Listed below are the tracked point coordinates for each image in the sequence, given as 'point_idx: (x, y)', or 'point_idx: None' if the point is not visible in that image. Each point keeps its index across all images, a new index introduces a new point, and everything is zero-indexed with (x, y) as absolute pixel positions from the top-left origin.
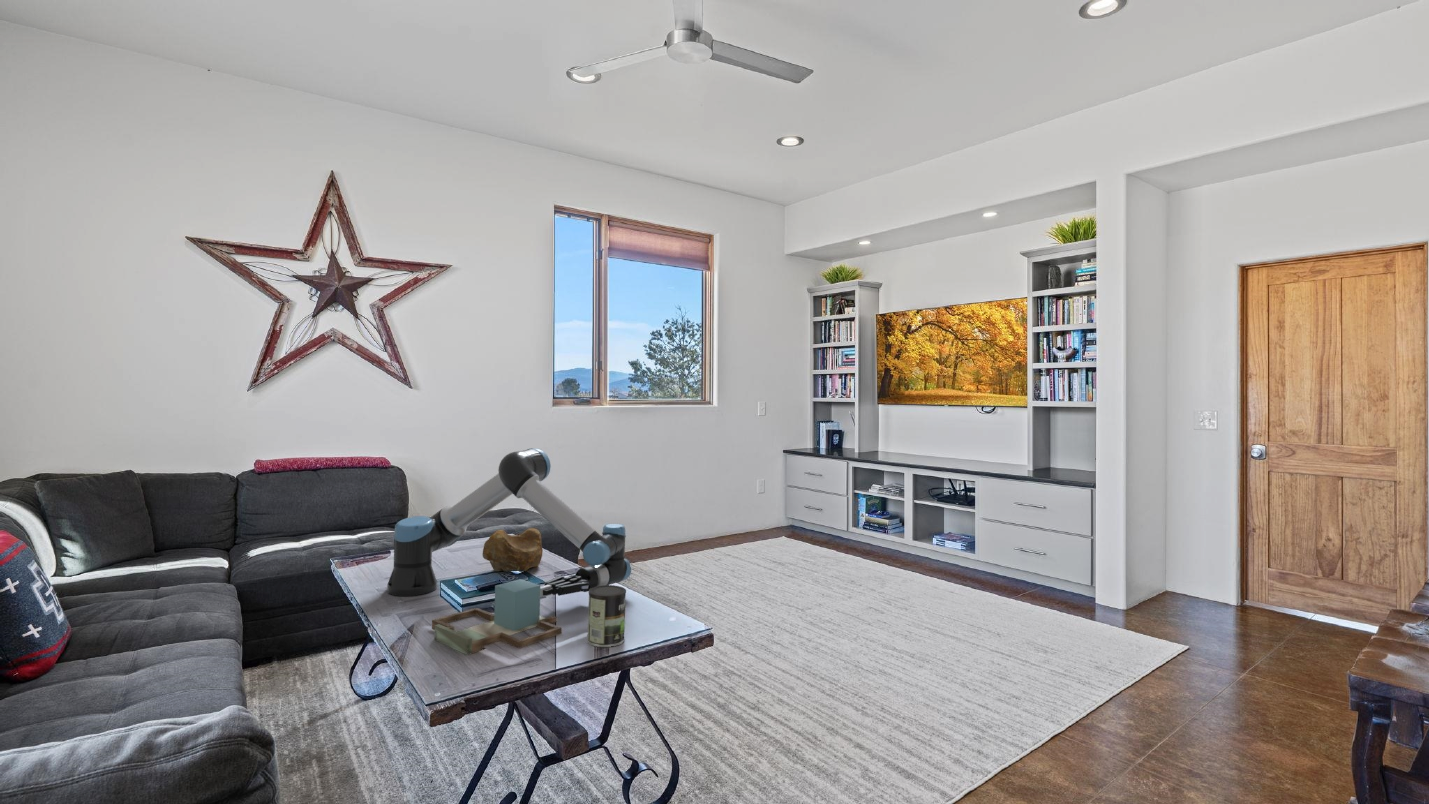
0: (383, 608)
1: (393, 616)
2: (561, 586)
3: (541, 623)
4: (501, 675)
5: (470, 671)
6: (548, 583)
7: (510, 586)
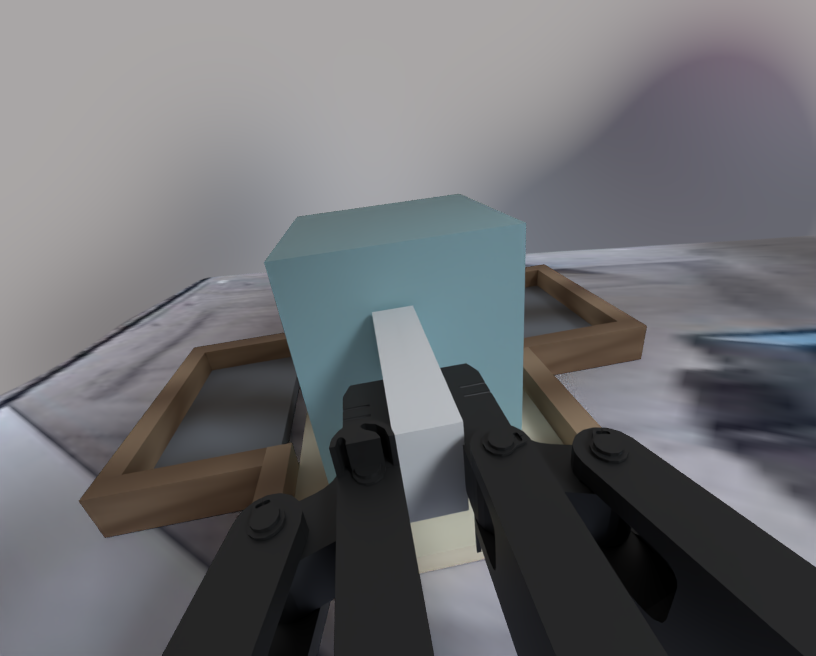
0: (773, 248)
1: (686, 257)
2: (262, 555)
3: (252, 453)
4: (158, 330)
5: (237, 306)
6: (588, 476)
7: (397, 210)
